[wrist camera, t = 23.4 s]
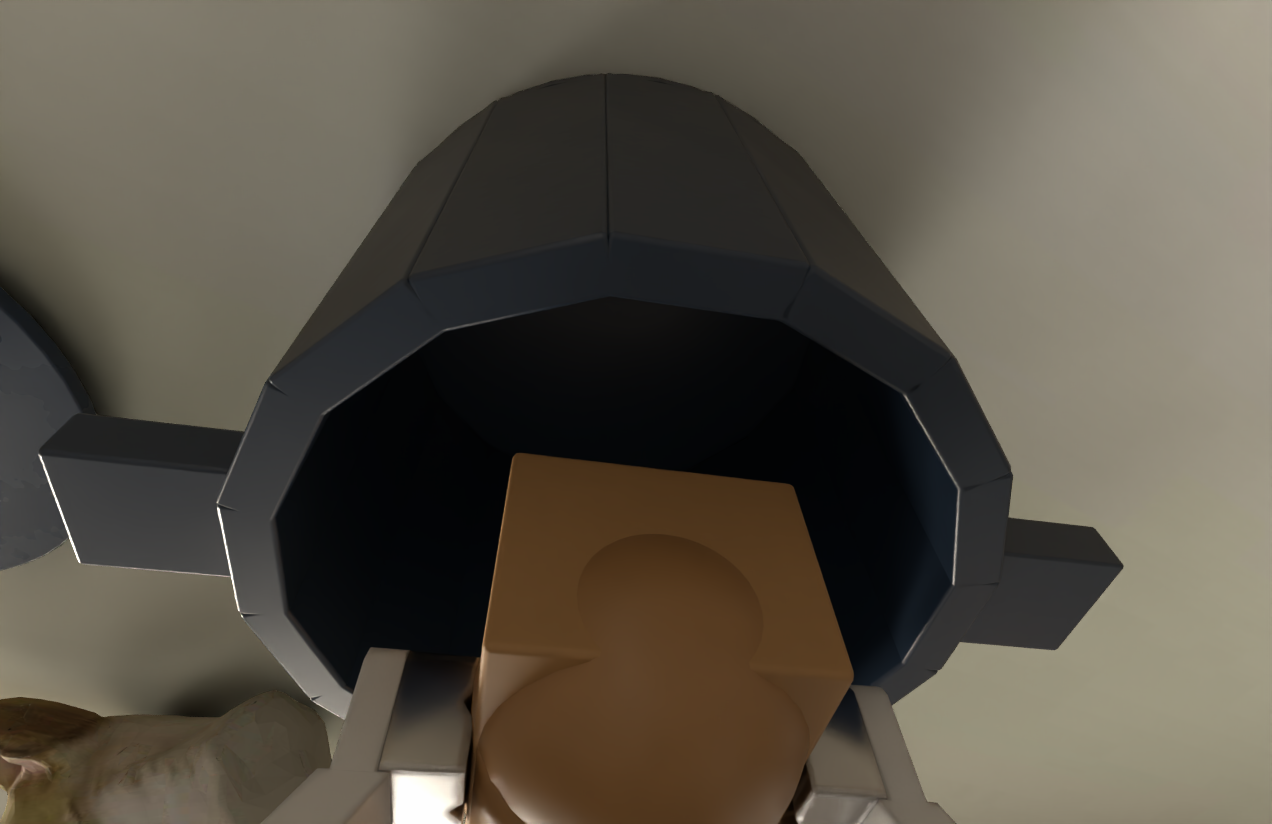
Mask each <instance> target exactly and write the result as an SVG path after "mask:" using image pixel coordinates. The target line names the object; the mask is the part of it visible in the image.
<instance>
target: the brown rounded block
mask: <svg viewBox="0 0 1272 824" xmlns="http://www.w3.org/2000/svg"><path fill="white" fill-rule="evenodd" d="M853 678H854V672H853V668H852V665H851V662H850V659H849V656H848V653H847V650H846V647H845V644H844V641H843V638H842V635H841V631H840V628H839V625H838V622H837V619H836V616H835V613H834V610H833V607H832V604H831V601H830V598H829V594H828V591H827V588H826V585H825V582H824V579H823V576H822V573H821V570H820V567H819V564H818V561H817V557H816V554H815V551H814V548H813V545H812V542H811V539H810V536H809V533H808V530H807V527H806V524H805V521H804V517H803V514H802V511H801V508H800V505H799V502H798V499H797V496H796V493H795V490H794V487H793V486H792V485H790V484H786V483H778V482H769V481H761V480H752V479H743V478H735V477H726V476H718V475H709V474H700V473H692V472H683V471H674V470H666V469H657V468H649V467H640V466H631V465H623V464H614V463H606V462H597V461H588V460H580V459H571V458H563V457H554V456H545V455H537V454H528V453H516V454H515V455H514V457H513V458H512V464H511V470H510V476H509V482H508V488H507V495H506V501H505V507H504V513H503V519H502V526H501V532H500V538H499V544H498V550H497V557H496V563H495V569H494V575H493V581H492V587H491V594H490V600H489V606H488V612H487V618H486V625H485V631H484V637H483V643H482V652H481V657H480V661H479V664H478V667H477V671H476V675H475V680H474V684H473V695H472V707H471V716H472V726H473V728H472V740H471V752H470V762H469V768H468V785H467V795H466V804H465V812H466V823H465V824H778V823H779V822H780V820H781V818H782V817H783V815H784V813H785V812H786V810H787V808H788V806H789V804H790V802H791V800H792V798H793V796H794V794H795V791H796V788H797V785H798V783H799V780H800V777H801V774H802V771H803V768H804V764H805V763H806V761H807V759H808V758H809V756H810V754H811V752H812V751H813V749H814V747H815V745H816V744H817V742H818V740H819V739H820V737H821V735H822V733H823V732H824V730H825V728H826V727H827V725H828V723H829V721H830V720H831V718H832V716H833V714H834V713H835V711H836V709H837V708H838V706H839V704H840V702H841V701H842V699H843V697H844V695H845V694H846V692H847V690H848V689H849V687H850V685H851V683H852V682H853Z"/></svg>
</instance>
